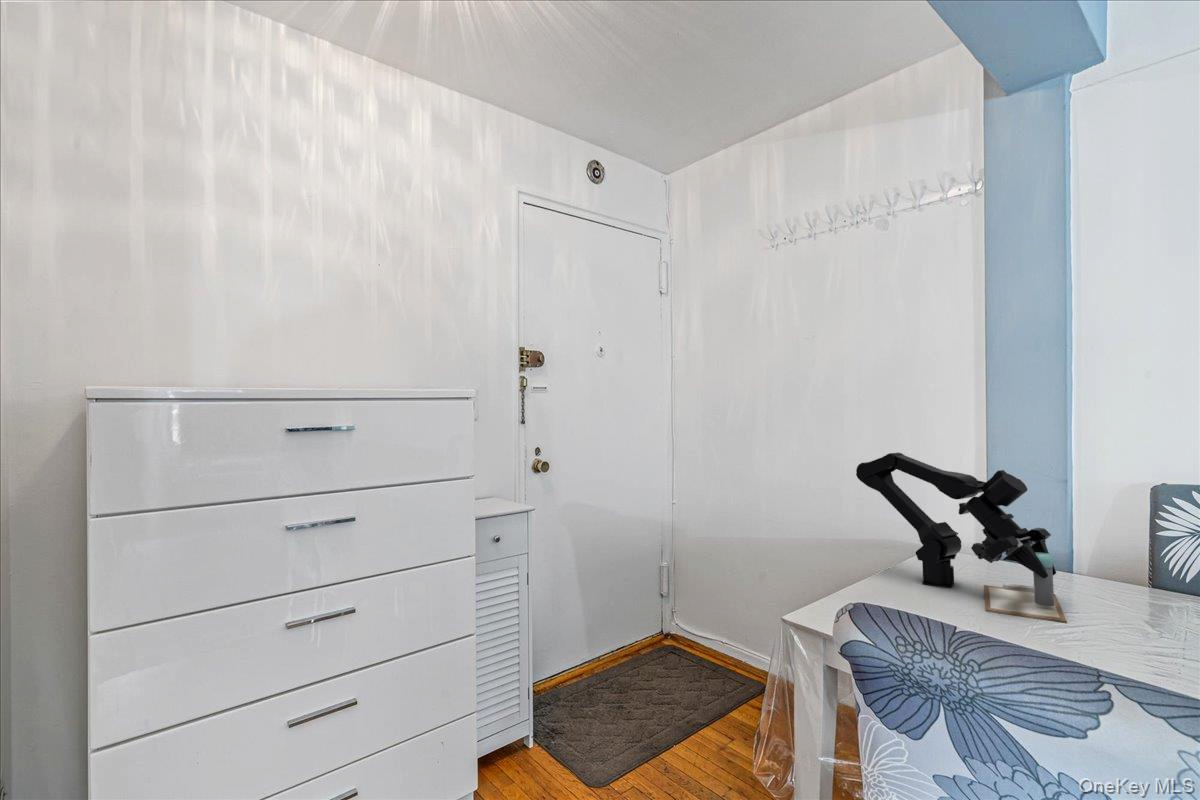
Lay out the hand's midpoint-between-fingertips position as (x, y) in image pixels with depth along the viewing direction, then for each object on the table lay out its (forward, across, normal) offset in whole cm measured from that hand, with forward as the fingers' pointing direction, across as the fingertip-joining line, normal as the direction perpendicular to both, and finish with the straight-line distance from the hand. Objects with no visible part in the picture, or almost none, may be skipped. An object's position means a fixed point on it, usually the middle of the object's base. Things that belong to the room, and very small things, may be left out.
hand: (1050, 575), depth 121 cm
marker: (+4, 0, -6) cm, 7 cm away
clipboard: (+1, -1, -10) cm, 10 cm away
